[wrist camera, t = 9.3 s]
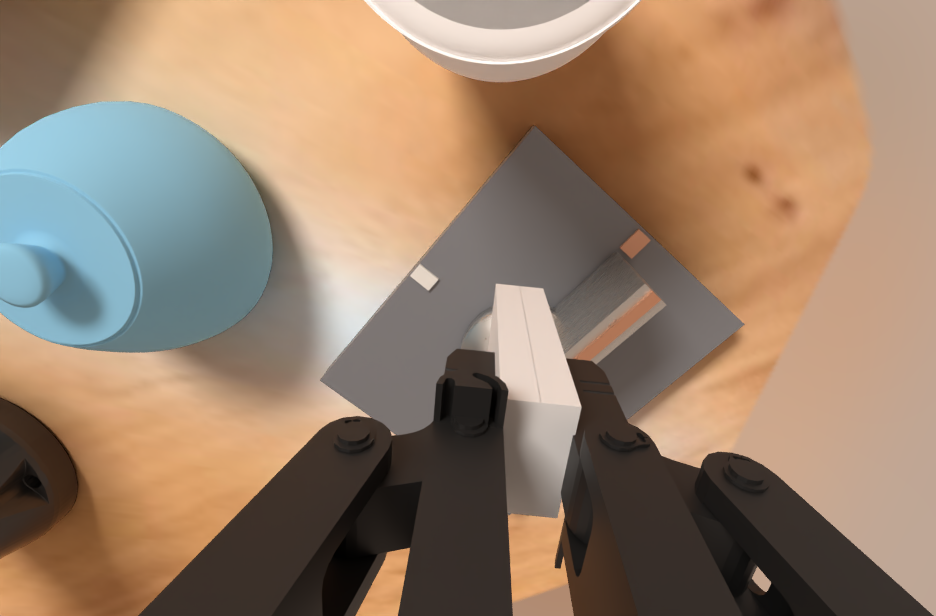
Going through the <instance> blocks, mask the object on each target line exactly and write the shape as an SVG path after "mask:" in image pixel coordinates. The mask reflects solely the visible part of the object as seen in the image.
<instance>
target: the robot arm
mask: <svg viewBox="0 0 936 616" xmlns="http://www.w3.org/2000/svg"><path fill="white" fill-rule="evenodd" d="M76 496H77V478H76V474H75V470H74V467H73V465H72V463H71V461H70V458H69V457H68V455H67V453H66V452H65V450H64V449H63V447H62V446H61V444H60V443H59V442H58V440H57V439H56V438H55V437H54V436H53V435H52V434H51V433H50V432H49V431H48V430H47V429H46V428H45V427H44V426H43V425H42V424H41V423H40V422H38V421H37V420H36V419H35V418H33V417H32V416H31V415H29V414H28V413H26V412H25V411H23V410H22V409H20V408H19V407H17V406H15V405H13V404H12V403H10V402H8V401H6V400H3V399H1V398H0V559H1V558H3V557H4V556H6V555H8V554H10V553H12V552H14V551H16V550H18V549H19V548H21V547H23V546H25V545H27V544H29V543H31V542H32V541H34V540H36V539H38V538H39V537H41V536H42V535H44V534H45V533H46V532H47V531H49V530H50V529H51V528H52V527H53V526H54V525H55V524H56V523H57V522H58V521H60V520H61V519H62V518H63V517H64V516H65V515H66V514H67V513H68V512H69V511H70V510H71V508H72V506H73V505H74V502H75V500H76ZM561 499H562V502H563V507H564V513H565V518H564V523H563V527H562V532H561V536H560V541H559V545H558V549H557V554H556V559H555V568H561V564H562V559H563V557H564V560H565V565H566V571H567V577H568V583H569V588H570V595H571V601H572V607H573V613H574V616H933V615H932V614H931V613H930V612H929V611H927V610H926V609H925V608H924V607H923V606H922V605H921V604H920V603H919V602H918V601H916V600H915V599H914V598H913V597H912V596H911V595H910V594H909V593H907V592H906V591H905V590H904V589H903V588H902V587H901V586H900V585H899V584H897V583H896V582H895V581H894V580H893V579H892V578H891V577H890V576H889V575H887V574H886V573H885V572H884V571H883V570H882V569H881V568H880V567H879V566H877V565H876V564H875V563H874V562H873V561H872V560H871V559H870V558H868V557H867V556H866V555H865V554H864V553H863V552H862V551H861V550H860V549H858V548H857V547H856V546H855V545H854V544H853V543H851V541H849V540H848V539H847V538H846V537H845V536H844V535H843V534H842V533H841V532H839V531H838V530H837V529H836V528H835V527H834V526H833V525H831V524H830V523H829V522H828V521H827V520H826V519H825V518H824V517H823V516H822V515H821V514H819V513H818V512H817V511H816V510H815V509H814V508H813V507H812V506H810V505H809V504H808V503H807V502H806V501H805V500H804V499H803V498H802V497H800V496H799V495H798V494H797V493H796V492H795V491H794V490H792V488H790V487H789V486H788V485H787V484H786V483H785V482H784V481H783V480H781V479H780V478H779V477H778V476H777V475H776V474H774V473H773V472H772V471H770V470H769V469H768V468H766V467H764V466H763V465H762V464H760V463H758V462H756V461H754V460H752V459H750V458H748V457H745V456H742V455H739V454H734V453H727V452H716V453H712V454H708V455H707V457H706V458H705V459H704V460H703V462H702V465H701V468H696V467H693V466H690V465H687V464H683V463H680V462H677V461H674V460H671V459H668V458H666V457H663V456H661V455H660V453H659V451H658V449H657V447H656V445H655V443H654V442H653V441H652V439H651V438H650V437H649V436H648V435H647V434H646V433H645V432H643V431H642V430H640V429H639V428H638V427H635V426H633V425H631V424H628V422H627V419H626V417H625V415H624V413H623V411H622V409H621V406H620V404H619V402H618V400H617V398H616V396H615V395H614V391H613V389H612V387H611V386H610V383H609V380H608V378H607V376H606V374H605V372H604V371H603V370H602V369H601V368H600V367H598V366H597V365H596V364H595V363H594V362H593V361H588V360H578V359H569V358H566V357H565V354H564V351H563V348H562V345H561V342H560V339H559V336H558V333H557V330H556V327H555V323H554V320H553V317H552V314H551V311H550V308H549V305H548V302H547V299H546V296H545V293H544V289H543V288H534V287H524V286H514V285H504V284H496V287H495V296H494V304H493V312H492V320H491V328H490V337H489V345H488V352H486V351H476V350H467V349H456V350H455V351H453V352H452V353H451V354H450V355H449V356H448V357H447V361H446V366H445V372H444V375H442V376H440V378H439V380H438V381H437V383H436V393H435V406H434V419H433V422H432V423H431V424H430V425H428V426H427V427H425V428H424V429H421V430H419V431H416V432H413V433H408V434H403V435H395V436H391V432H390V430H389V429H388V428H387V427H386V426H385V425H384V424H383V423H382V422H380V421H377V420H375V419H373V418H367V417H360V416H355V417H346V418H341V419H339V420H336V421H333V422H330V423H329V424H327V425H326V426H325V427H323V428H322V429H320V430H319V431H318V432H317V433H316V434H315V435H314V436H313V438H312V439H311V440H310V441H309V442H308V443H307V444H306V445H305V446H304V447H303V448H302V449H301V450H300V451H299V452H298V453H297V454H296V455H295V456H294V457H293V458H292V459H291V460H290V461H289V462H288V463H287V464H286V465H285V466H284V467H283V468H282V469H281V470H280V471H279V472H278V473H277V474H276V475H275V476H274V477H273V478H272V479H271V480H270V481H269V483H268V484H267V485H266V486H265V487H264V488H263V489H262V490H261V491H260V492H259V493H258V494H257V495H256V496H255V497H254V498H253V499H252V500H251V501H250V502H249V503H248V504H247V505H246V506H245V507H244V508H243V509H242V510H241V511H240V512H239V513H238V514H237V515H236V516H235V517H234V518H233V519H232V520H231V521H230V522H229V523H228V524H227V525H226V526H225V527H224V529H223V530H222V531H221V532H220V533H219V534H218V535H217V536H216V537H215V538H214V539H213V540H212V541H211V542H210V543H209V544H208V545H207V546H206V547H205V548H204V549H203V550H202V551H201V552H200V553H199V554H198V555H197V556H196V557H195V558H194V559H193V560H192V561H191V562H190V563H189V564H188V565H187V566H186V567H185V568H184V569H183V570H182V571H181V572H180V574H179V575H178V576H177V577H176V578H175V579H174V580H173V581H172V582H171V583H170V584H169V585H168V586H167V587H166V588H165V589H164V590H163V591H162V592H161V593H160V594H159V595H158V596H157V597H156V598H155V599H154V600H153V601H152V602H151V603H150V604H149V605H148V606H147V607H146V608H145V609H144V610H143V611H142V612H141V613H140V614H139V615H138V616H355V615H356V613H357V611H358V610H359V608H360V606H361V604H362V602H363V600H364V598H365V596H366V594H367V593H368V591H369V589H370V587H371V585H372V583H373V581H374V579H375V577H376V575H377V574H378V572H379V570H380V568H381V566H382V564H383V562H384V560H385V557H386V554H387V552H390V551H395V550H400V549H405V548H410V553H409V558H408V564H407V569H406V575H405V580H404V586H403V591H402V597H401V602H400V608H399V613H398V616H513V614H512V593H511V573H510V553H509V533H508V514H507V513H513V514H522V515H532V516H541V517H551V518H557V517H558V512H559V508H560V503H561ZM757 566H758V567H759V568H760V570H761V571H762V572H763V573H764V574H765V575H766V577H767V578H768V579H769V580H770V581H771V585H770V587H769V590H768V591H767V592H764V591H763V590H762V589H761V588H759V586H758V585H757V584H756V583H755V582H754V581H753V580H752V576H753V574H754V572H755V570H756V568H757Z"/></svg>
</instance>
